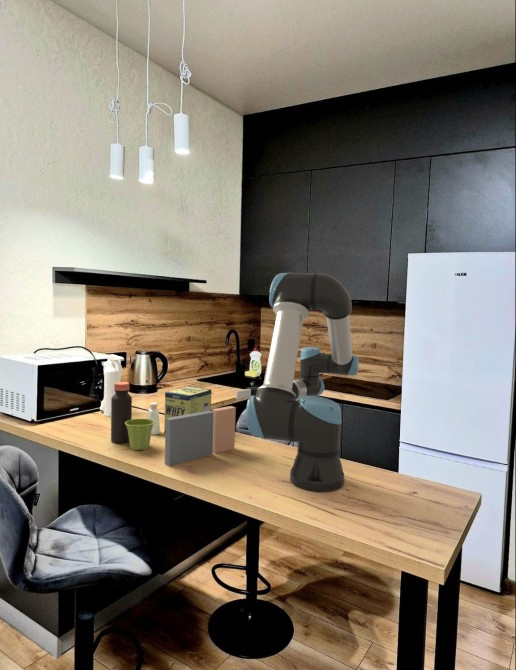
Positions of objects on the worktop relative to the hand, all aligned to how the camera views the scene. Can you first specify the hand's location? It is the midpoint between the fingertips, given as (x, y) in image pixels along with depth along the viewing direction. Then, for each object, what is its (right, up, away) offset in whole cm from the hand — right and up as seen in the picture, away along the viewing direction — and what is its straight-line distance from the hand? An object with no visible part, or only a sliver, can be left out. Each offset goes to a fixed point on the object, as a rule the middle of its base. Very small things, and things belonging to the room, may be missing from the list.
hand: (249, 398), depth 164 cm
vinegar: (-44, -15, +1) cm, 46 cm away
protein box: (-23, -14, +14) cm, 31 cm away
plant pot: (-36, -16, -6) cm, 40 cm away
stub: (-9, -16, -7) cm, 19 cm away
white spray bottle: (-58, -11, +36) cm, 69 cm away
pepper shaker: (-35, -14, +11) cm, 40 cm away
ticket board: (-18, -17, -15) cm, 29 cm away
